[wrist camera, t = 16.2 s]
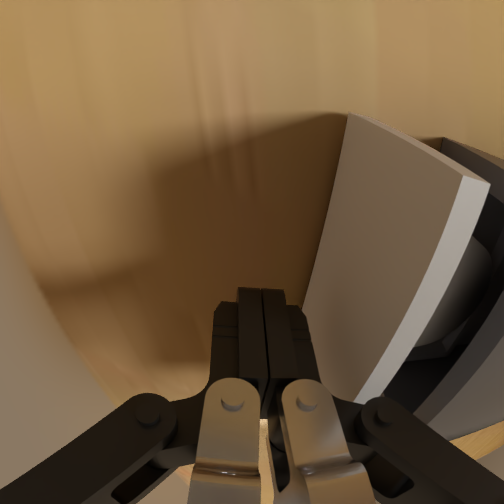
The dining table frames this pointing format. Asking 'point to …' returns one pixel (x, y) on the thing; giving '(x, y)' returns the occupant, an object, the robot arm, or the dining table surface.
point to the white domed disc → (460, 293)
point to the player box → (460, 349)
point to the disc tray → (394, 257)
